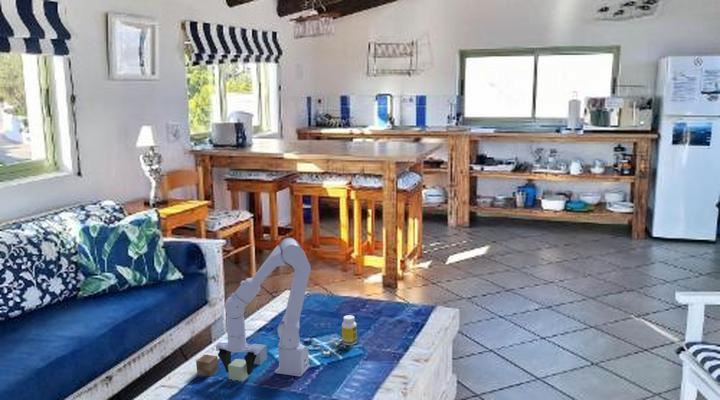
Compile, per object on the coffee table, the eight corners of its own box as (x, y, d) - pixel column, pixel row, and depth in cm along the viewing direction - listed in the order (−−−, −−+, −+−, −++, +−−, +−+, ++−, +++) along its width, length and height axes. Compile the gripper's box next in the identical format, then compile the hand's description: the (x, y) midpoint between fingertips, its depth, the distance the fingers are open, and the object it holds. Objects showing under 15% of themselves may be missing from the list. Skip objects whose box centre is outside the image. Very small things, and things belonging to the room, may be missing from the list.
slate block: (267, 358, 215) (266, 345, 214) (260, 364, 210) (259, 351, 209) (254, 356, 216) (253, 343, 215) (247, 363, 212) (246, 349, 211)
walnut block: (218, 369, 207) (217, 356, 206) (210, 376, 203) (209, 362, 202) (205, 368, 209) (204, 354, 208) (197, 375, 204) (196, 361, 203)
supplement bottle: (355, 346, 222) (354, 320, 220) (340, 345, 223) (339, 319, 221) (358, 339, 227) (357, 314, 225) (344, 338, 228) (343, 313, 226)
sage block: (250, 374, 204) (249, 360, 203) (242, 381, 199) (241, 367, 198) (236, 372, 205) (235, 358, 204) (229, 379, 201) (228, 365, 200)
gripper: (262, 330, 201) (264, 368, 203) (222, 326, 205) (225, 364, 207) (252, 339, 194) (255, 378, 197) (211, 335, 198) (214, 374, 201)
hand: (239, 372), depth 202 cm, fingers open, 7 cm apart
